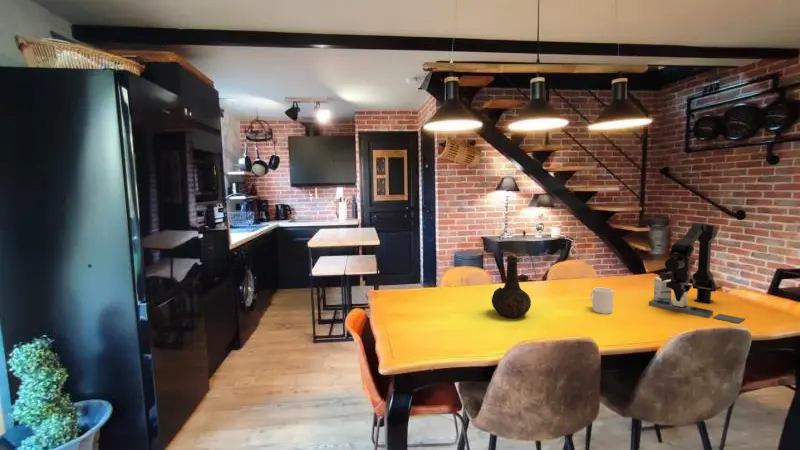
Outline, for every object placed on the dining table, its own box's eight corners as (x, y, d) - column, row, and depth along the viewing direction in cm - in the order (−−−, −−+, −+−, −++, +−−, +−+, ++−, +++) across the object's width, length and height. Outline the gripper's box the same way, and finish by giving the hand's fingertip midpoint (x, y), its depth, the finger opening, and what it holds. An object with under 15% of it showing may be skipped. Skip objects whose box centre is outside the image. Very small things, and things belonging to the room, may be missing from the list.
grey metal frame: (654, 302, 196) (654, 299, 196) (712, 314, 177) (713, 310, 176) (648, 305, 192) (648, 301, 192) (707, 317, 173) (708, 313, 172)
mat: (719, 314, 177) (719, 313, 177) (744, 319, 170) (744, 318, 170) (712, 318, 172) (712, 317, 172) (738, 323, 165) (738, 322, 165)
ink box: (671, 303, 194) (672, 281, 193) (660, 303, 195) (661, 280, 194) (663, 299, 203) (664, 277, 202) (653, 298, 204) (654, 276, 203)
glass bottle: (503, 306, 193) (504, 251, 191) (537, 314, 180) (538, 255, 178) (484, 315, 181) (484, 256, 178) (518, 324, 168) (519, 261, 166)
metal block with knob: (676, 303, 187) (677, 288, 186) (686, 305, 184) (687, 290, 183) (672, 305, 185) (673, 289, 184) (683, 307, 181) (684, 291, 180)
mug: (597, 305, 192) (598, 285, 191) (617, 313, 181) (617, 291, 180) (583, 307, 190) (583, 286, 189) (601, 315, 179) (602, 292, 178)
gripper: (669, 263, 194) (668, 293, 196) (654, 268, 183) (652, 300, 185) (696, 266, 185) (694, 298, 187) (681, 272, 174) (680, 305, 176)
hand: (679, 300), depth 184 cm, fingers closed on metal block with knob, 4 cm apart
